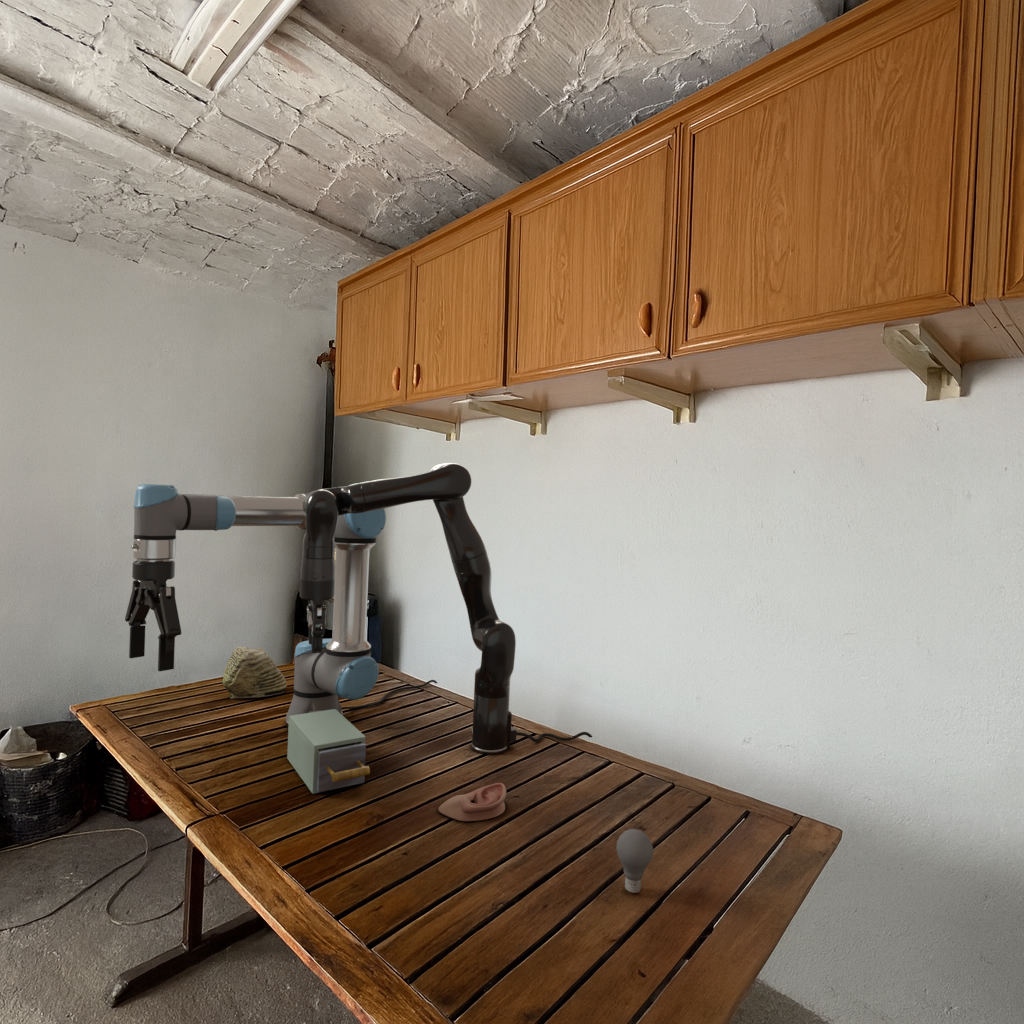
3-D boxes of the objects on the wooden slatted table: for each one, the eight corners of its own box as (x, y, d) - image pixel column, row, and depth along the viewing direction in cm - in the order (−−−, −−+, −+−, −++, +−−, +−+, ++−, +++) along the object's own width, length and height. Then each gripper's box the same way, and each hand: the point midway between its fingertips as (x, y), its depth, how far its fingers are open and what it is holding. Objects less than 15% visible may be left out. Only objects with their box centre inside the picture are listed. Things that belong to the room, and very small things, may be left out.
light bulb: (610, 879, 108) (613, 822, 108) (644, 879, 109) (647, 822, 109) (619, 902, 102) (622, 840, 102) (655, 901, 103) (658, 840, 103)
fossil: (218, 695, 195) (220, 647, 195) (278, 685, 208) (279, 640, 207) (228, 703, 189) (230, 653, 188) (289, 692, 201) (290, 645, 201)
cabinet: (363, 782, 141) (365, 736, 141) (312, 794, 135) (314, 745, 135) (333, 749, 158) (335, 708, 158) (287, 758, 152) (288, 715, 152)
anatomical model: (434, 797, 127) (451, 773, 138) (433, 817, 127) (450, 791, 138) (498, 806, 124) (510, 781, 135) (497, 826, 124) (509, 800, 136)
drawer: (374, 793, 134) (376, 754, 134) (327, 804, 129) (328, 763, 128) (335, 751, 155) (337, 717, 155) (293, 759, 150) (294, 723, 150)
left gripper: (109, 555, 134) (106, 655, 134) (162, 566, 118) (158, 679, 119) (147, 553, 140) (144, 649, 140) (202, 564, 124) (198, 672, 125)
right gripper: (338, 581, 139) (335, 655, 139) (331, 573, 152) (328, 640, 152) (302, 581, 136) (299, 656, 136) (298, 573, 149) (295, 642, 149)
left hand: (150, 663), depth 130 cm, fingers open, 13 cm apart
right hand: (315, 648), depth 144 cm, fingers open, 8 cm apart
